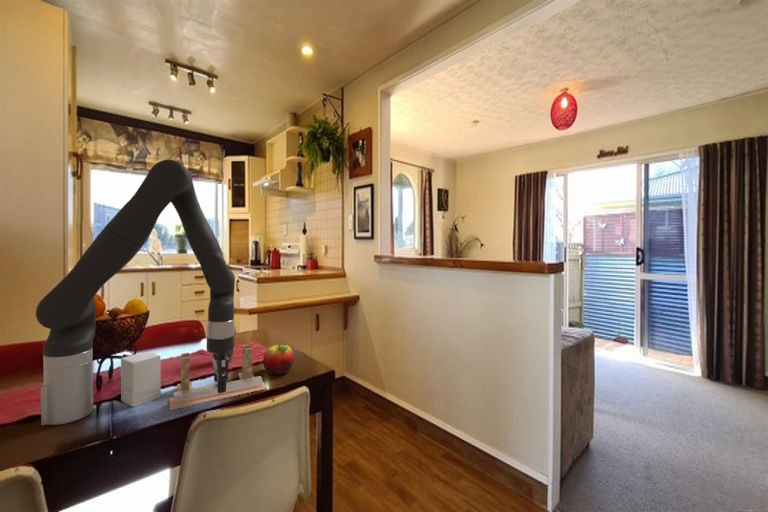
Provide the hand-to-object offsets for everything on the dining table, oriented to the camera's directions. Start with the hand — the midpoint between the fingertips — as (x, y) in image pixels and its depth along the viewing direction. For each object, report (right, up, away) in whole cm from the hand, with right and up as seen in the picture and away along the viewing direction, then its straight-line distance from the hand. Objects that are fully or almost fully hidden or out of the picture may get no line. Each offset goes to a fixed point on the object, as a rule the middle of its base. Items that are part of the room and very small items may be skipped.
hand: (219, 386), depth 100 cm
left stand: (-12, -2, +2) cm, 12 cm away
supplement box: (-21, -2, -4) cm, 22 cm away
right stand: (+3, -2, +12) cm, 12 cm away
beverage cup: (-11, -1, +26) cm, 29 cm away
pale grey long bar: (0, -2, 0) cm, 2 cm away
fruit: (+12, -2, +19) cm, 22 cm away
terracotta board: (0, -3, 0) cm, 3 cm away
